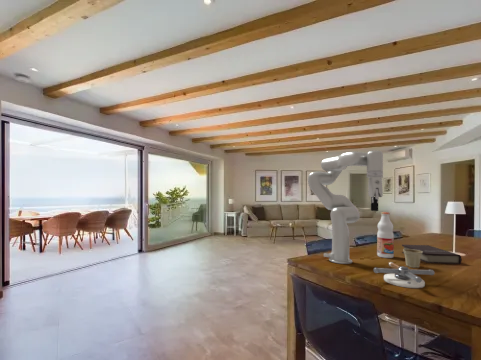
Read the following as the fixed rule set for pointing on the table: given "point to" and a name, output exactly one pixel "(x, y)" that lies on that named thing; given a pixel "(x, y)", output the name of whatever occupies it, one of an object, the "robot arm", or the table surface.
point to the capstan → (404, 272)
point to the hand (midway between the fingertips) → (374, 210)
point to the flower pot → (412, 257)
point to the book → (435, 254)
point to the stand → (403, 281)
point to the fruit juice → (385, 237)
